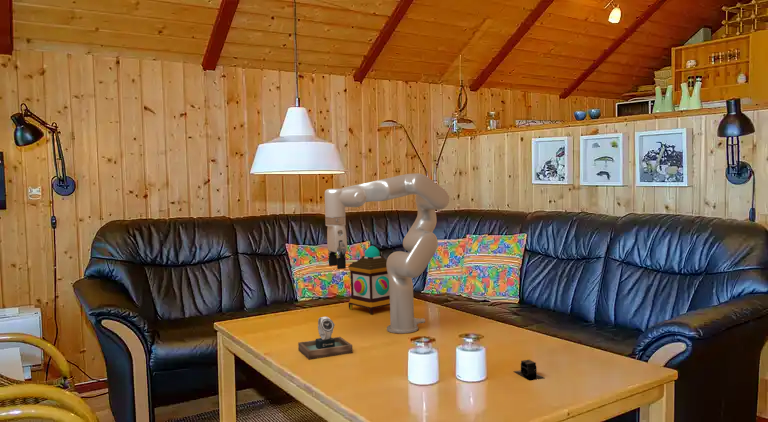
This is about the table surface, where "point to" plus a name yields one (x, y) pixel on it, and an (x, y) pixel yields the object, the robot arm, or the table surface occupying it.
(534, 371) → the black block
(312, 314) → the table surface
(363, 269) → the decorative lantern
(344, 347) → the watch tray
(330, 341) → the watch
